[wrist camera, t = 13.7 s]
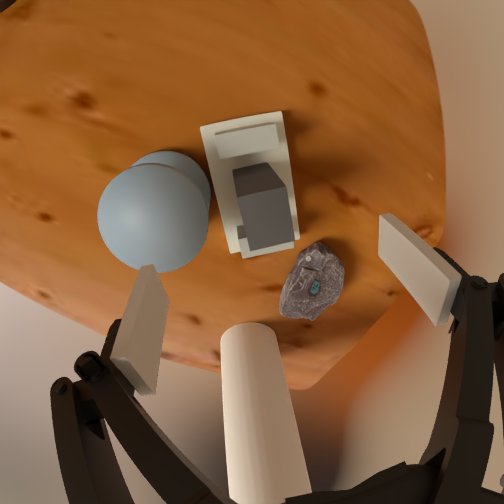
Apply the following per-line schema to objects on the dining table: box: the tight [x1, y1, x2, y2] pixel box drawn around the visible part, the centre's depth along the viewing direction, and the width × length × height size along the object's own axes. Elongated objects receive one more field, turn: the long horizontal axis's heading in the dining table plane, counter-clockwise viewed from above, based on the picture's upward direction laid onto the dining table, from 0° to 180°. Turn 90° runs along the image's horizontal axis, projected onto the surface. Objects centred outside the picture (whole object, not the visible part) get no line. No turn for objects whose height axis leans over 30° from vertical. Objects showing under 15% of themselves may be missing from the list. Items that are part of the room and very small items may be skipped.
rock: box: [279, 242, 345, 321], centre depth 39 cm, size 8×11×5 cm
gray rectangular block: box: [232, 162, 295, 251], centre depth 28 cm, size 5×4×10 cm
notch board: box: [200, 111, 300, 258], centre depth 31 cm, size 16×9×5 cm, turn 10°
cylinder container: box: [220, 322, 312, 504], centre depth 33 cm, size 9×9×30 cm
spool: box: [97, 150, 211, 273], centre depth 29 cm, size 11×11×8 cm
